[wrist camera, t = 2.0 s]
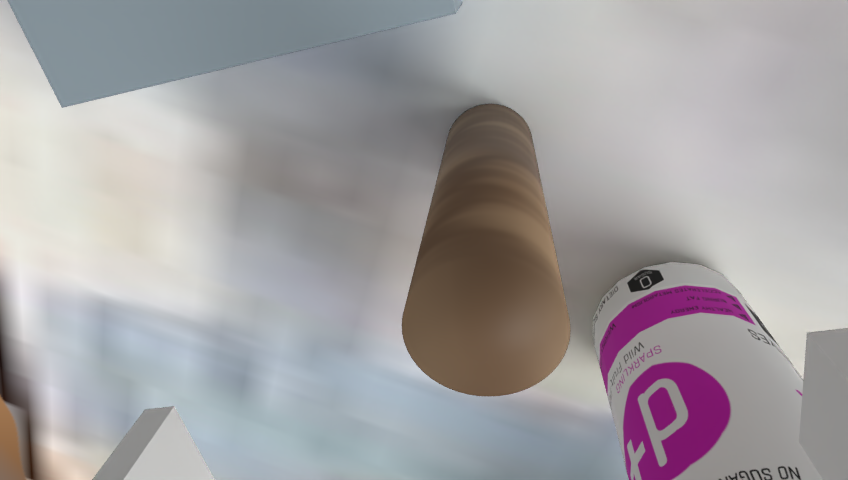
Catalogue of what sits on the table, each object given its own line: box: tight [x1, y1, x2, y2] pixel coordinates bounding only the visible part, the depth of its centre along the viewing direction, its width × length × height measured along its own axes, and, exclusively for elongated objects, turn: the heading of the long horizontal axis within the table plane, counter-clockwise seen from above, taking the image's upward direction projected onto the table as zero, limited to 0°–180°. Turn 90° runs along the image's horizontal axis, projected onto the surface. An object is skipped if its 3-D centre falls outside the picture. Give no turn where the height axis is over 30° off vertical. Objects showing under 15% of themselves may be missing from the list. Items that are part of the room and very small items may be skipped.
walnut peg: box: [402, 104, 570, 396], centre depth 22 cm, size 4×4×16 cm
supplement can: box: [593, 262, 823, 480], centre depth 26 cm, size 8×8×15 cm
